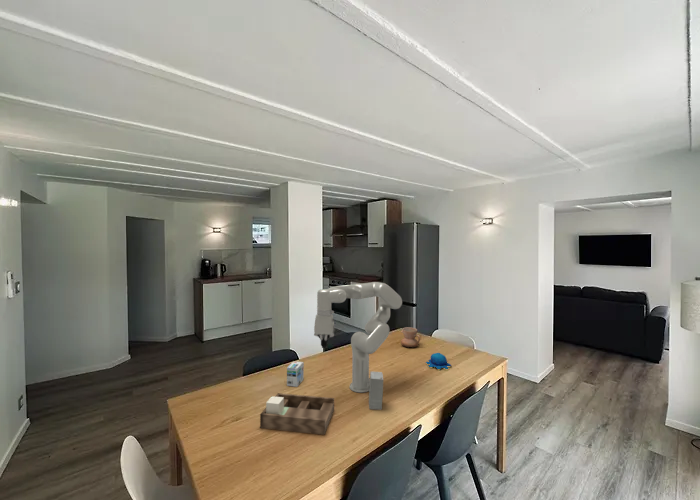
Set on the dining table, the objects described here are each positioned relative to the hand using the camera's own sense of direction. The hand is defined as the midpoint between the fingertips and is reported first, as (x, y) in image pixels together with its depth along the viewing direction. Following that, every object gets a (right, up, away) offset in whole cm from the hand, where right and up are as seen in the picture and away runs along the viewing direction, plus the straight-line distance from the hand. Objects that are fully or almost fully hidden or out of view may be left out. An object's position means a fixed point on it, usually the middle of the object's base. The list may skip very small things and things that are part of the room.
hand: (323, 347), depth 155 cm
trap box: (-9, -27, -19) cm, 34 cm away
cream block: (-20, -23, -22) cm, 38 cm away
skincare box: (+27, -28, -7) cm, 39 cm away
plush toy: (+75, -28, +46) cm, 92 cm away
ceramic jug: (+64, -28, +86) cm, 111 cm away
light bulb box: (-19, -27, +18) cm, 38 cm away
